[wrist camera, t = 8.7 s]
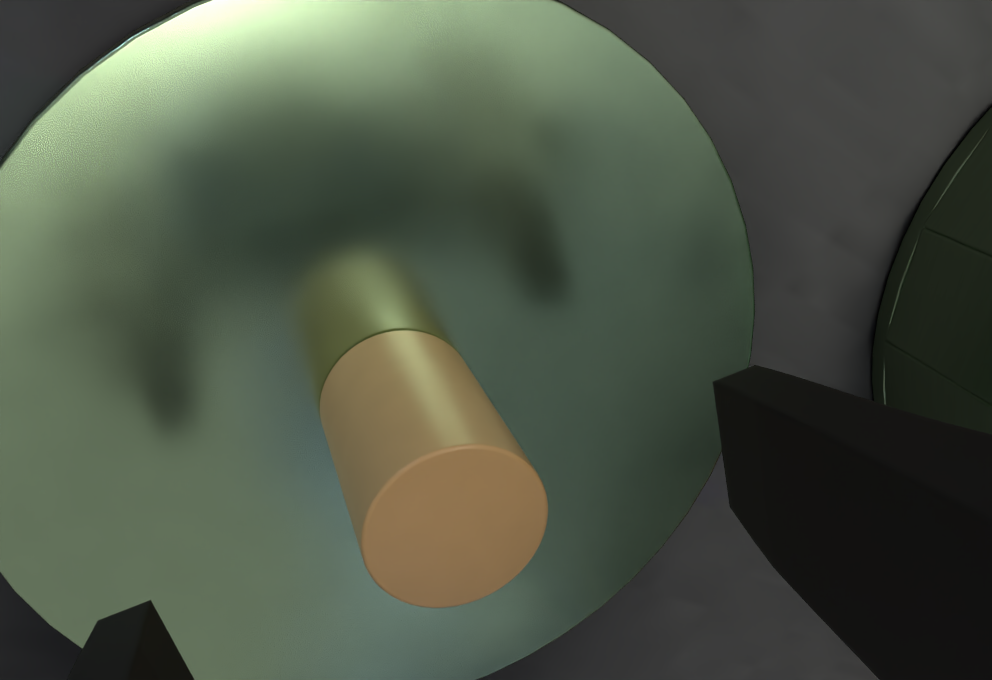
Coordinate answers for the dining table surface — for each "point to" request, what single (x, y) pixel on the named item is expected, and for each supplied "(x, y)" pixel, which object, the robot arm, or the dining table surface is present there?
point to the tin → (943, 298)
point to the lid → (360, 333)
